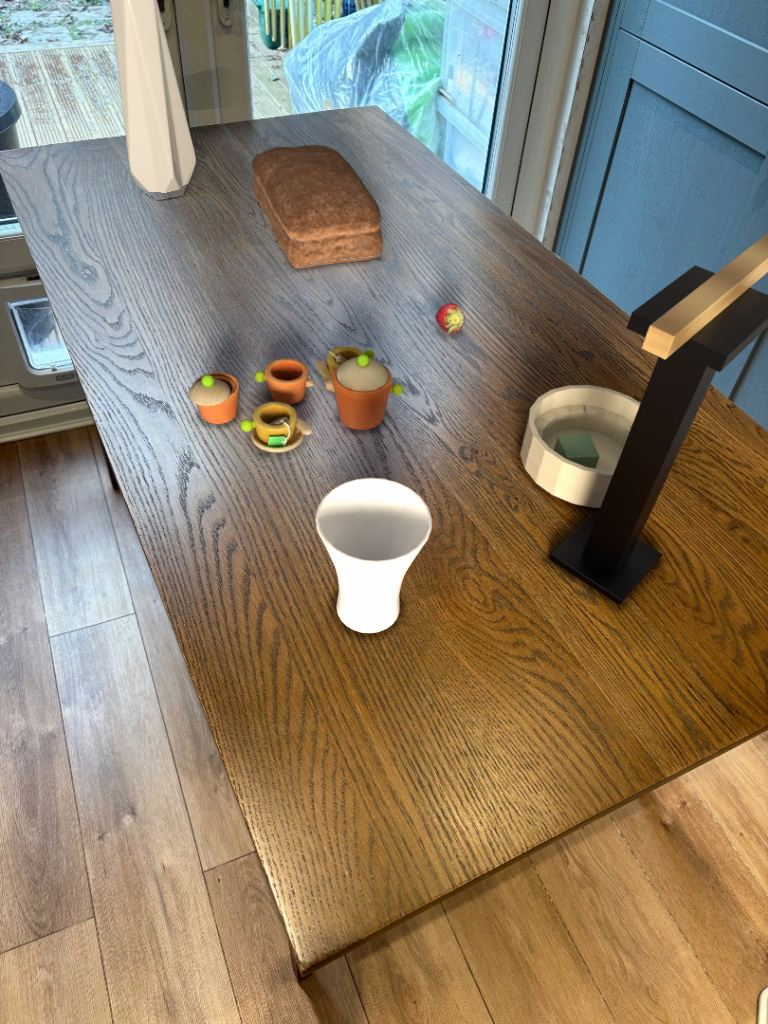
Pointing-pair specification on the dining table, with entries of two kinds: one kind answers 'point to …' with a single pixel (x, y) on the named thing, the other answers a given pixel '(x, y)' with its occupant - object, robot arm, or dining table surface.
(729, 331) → the stand
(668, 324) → the rectangular bar
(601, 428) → the bowl
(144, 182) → the vase
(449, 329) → the fruit
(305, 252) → the bread
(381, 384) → the toy tea set
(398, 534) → the cup
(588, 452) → the block
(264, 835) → the dining table surface
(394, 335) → the dining table surface
